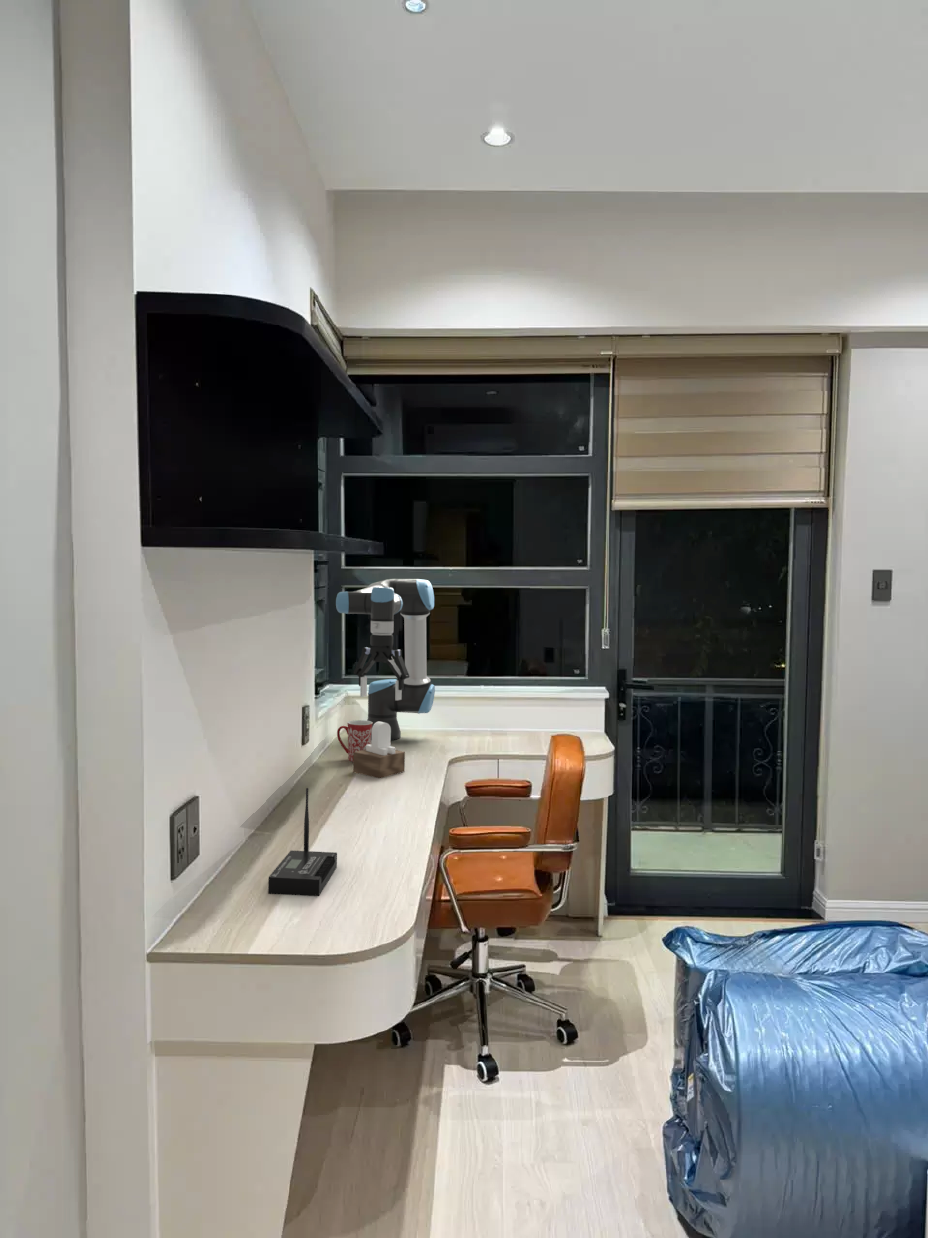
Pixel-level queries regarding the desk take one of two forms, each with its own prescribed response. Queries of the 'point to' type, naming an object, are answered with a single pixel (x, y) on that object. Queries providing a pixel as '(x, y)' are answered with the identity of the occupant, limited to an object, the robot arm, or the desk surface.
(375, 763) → the walnut block
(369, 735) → the mug
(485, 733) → the desk surface
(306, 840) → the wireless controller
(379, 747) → the cable organizer
